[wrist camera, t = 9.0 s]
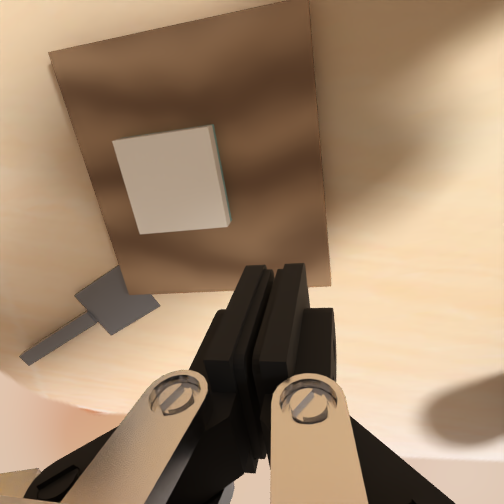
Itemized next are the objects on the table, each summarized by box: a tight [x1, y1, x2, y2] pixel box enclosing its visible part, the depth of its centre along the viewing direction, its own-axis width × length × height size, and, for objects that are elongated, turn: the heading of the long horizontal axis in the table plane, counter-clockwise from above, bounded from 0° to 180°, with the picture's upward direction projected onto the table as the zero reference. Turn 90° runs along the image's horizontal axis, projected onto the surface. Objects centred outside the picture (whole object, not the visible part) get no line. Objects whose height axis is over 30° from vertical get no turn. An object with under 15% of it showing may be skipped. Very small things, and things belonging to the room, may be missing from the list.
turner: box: [19, 265, 160, 366], centre depth 43 cm, size 6×20×1 cm, turn 125°
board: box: [48, 0, 331, 295], centre depth 32 cm, size 22×20×2 cm
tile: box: [112, 124, 232, 234], centre depth 31 cm, size 8×2×8 cm
